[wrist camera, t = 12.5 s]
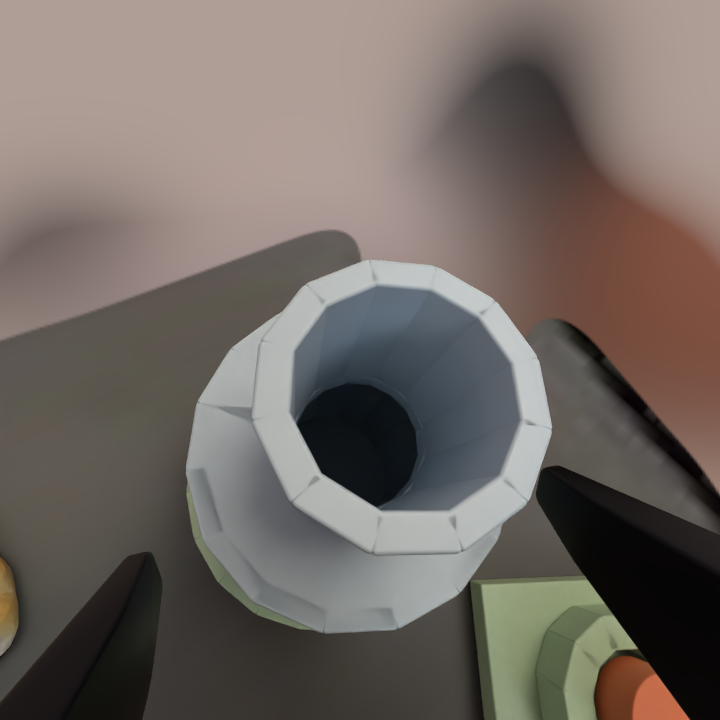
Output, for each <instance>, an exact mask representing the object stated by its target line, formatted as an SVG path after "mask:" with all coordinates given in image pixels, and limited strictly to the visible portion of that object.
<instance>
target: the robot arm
mask: <svg viewBox="0 0 720 720" xmlns="http://www.w3.org/2000/svg"><path fill="white" fill-rule="evenodd" d="M536 497H537V501H538V503H539V505H540V506H541V508H542V510H543V511H544V513H545V515H546V516H547V518H548V520H549V521H550V523H551V525H552V526H553V528H554V530H555V531H556V533H557V534H558V536H559V538H560V539H561V541H562V543H563V544H564V546H565V548H566V549H567V551H568V552H569V554H570V556H571V557H572V559H573V560H574V562H575V563H576V565H577V566H578V567H579V569H580V570H581V572H582V573H583V574H584V576H585V577H586V579H587V580H588V581H589V583H590V584H591V585H592V587H593V588H594V589H595V591H596V592H597V594H598V595H599V596H600V598H601V599H602V600H603V602H604V603H605V605H606V606H607V607H608V609H609V610H610V611H611V613H612V614H613V615H614V617H615V618H616V620H617V621H618V622H619V624H620V625H621V626H622V628H623V629H624V631H625V632H626V633H627V635H628V636H629V637H630V639H631V640H632V641H633V643H634V644H635V646H636V647H637V648H638V650H639V651H640V652H641V654H642V655H643V657H644V658H645V659H646V661H647V662H648V663H649V665H650V666H651V667H652V669H653V670H654V672H655V673H656V674H657V676H658V677H659V678H660V680H661V681H662V682H663V684H664V685H665V687H666V688H667V689H668V691H669V692H670V693H671V695H672V696H673V698H674V699H675V700H676V702H677V703H678V704H679V706H680V707H681V708H682V710H683V711H684V713H685V714H686V715H687V717H688V718H689V719H690V720H720V535H718V534H716V533H714V532H711V531H709V530H707V529H704V528H702V527H700V526H697V525H695V524H693V523H691V522H688V521H686V520H684V519H681V518H679V517H677V516H674V515H672V514H670V513H667V512H665V511H663V510H661V509H658V508H656V507H654V506H651V505H649V504H647V503H644V502H642V501H640V500H637V499H635V498H633V497H631V496H628V495H626V494H624V493H621V492H619V491H617V490H614V489H612V488H610V487H608V486H605V485H603V484H601V483H598V482H596V481H594V480H591V479H589V478H587V477H584V476H582V475H580V474H578V473H575V472H573V471H571V470H568V469H566V468H564V467H561V466H551V467H546V468H543V469H542V470H541V472H540V476H539V481H538V485H537V490H536ZM161 596H162V579H161V576H160V573H159V570H158V567H157V564H156V562H155V559H154V556H153V554H152V553H151V552H144V553H139V554H134V555H130V556H128V557H127V558H126V559H124V560H123V562H122V563H121V564H120V565H119V566H118V567H117V569H116V570H115V571H114V572H113V573H112V574H111V575H110V577H109V578H108V579H107V580H106V581H105V582H104V584H103V585H102V586H101V587H100V588H99V589H98V590H97V592H96V593H95V594H94V595H93V596H92V597H91V599H90V600H89V601H88V602H87V603H86V604H85V605H84V607H83V608H82V609H81V610H80V611H79V612H78V614H77V615H76V616H75V617H74V618H73V619H72V620H71V622H70V623H69V624H68V625H67V626H66V627H65V629H64V630H63V631H62V632H61V633H60V634H59V635H58V637H57V638H56V639H55V640H54V641H53V642H52V644H51V645H50V646H49V647H48V648H47V649H46V650H45V652H44V653H43V654H42V655H41V656H40V657H39V659H38V660H37V661H36V662H35V663H34V664H33V665H32V667H31V668H30V669H29V670H28V671H27V672H26V674H25V675H24V676H23V677H22V678H21V679H20V680H19V682H18V683H17V684H16V685H15V686H14V687H13V689H12V690H11V691H10V692H9V693H8V694H7V695H6V697H5V698H4V699H3V700H2V701H1V702H0V720H142V719H143V715H144V710H145V706H146V701H147V697H148V692H149V687H150V682H151V676H152V669H153V662H154V654H155V646H156V637H157V629H158V621H159V613H160V604H161Z"/></svg>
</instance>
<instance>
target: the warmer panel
mask: <svg viewBox="0 0 720 720" xmlns="http://www.w3.org/2000/svg"><path fill="white" fill-rule="evenodd" d="M470 587H471V597H472V606H473V616H474V626H475V635H476V645H477V655H478V665H479V674H480V684H481V694H482V703H483V713H484V720H599V718H598V714H597V709H596V700H595V692H596V684H597V680H598V677H599V674H600V672H601V670H602V668H603V667H604V666H605V664H606V663H607V662H609V661H610V660H611V659H613V658H615V657H618V656H632V657H635V658H638V659H640V660H642V661H644V662H647V661H646V659H645V658H644V657H643V655H642V654H641V652H640V651H639V650H638V648H637V647H636V646H635V644H634V643H633V641H632V640H631V639H630V637H629V636H628V635H627V633H626V632H625V631H624V629H623V628H622V626H621V625H620V624H619V622H618V621H617V620H616V618H615V617H614V615H613V614H612V613H611V611H610V610H609V609H608V607H607V606H606V605H605V603H604V602H603V600H602V599H601V598H600V596H599V595H598V594H597V592H596V591H595V589H594V588H593V587H592V585H591V584H590V583H589V581H588V580H587V579H586V577H585V576H559V577H534V578H509V579H484V580H471V581H470ZM647 663H648V662H647Z"/></svg>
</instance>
